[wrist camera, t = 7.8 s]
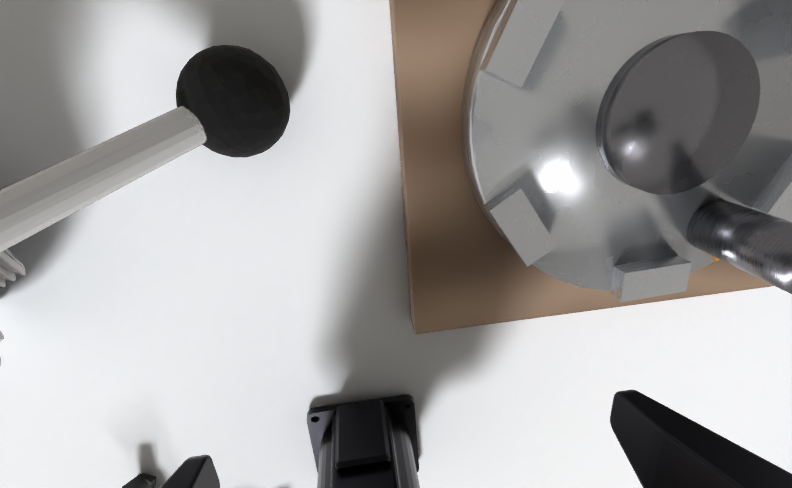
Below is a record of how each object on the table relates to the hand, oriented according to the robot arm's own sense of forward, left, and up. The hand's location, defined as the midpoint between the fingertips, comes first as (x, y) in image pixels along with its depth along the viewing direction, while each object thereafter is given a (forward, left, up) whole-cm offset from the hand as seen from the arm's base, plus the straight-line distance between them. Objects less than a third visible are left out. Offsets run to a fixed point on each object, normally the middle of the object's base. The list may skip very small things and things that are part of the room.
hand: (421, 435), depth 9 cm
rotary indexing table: (+5, -12, -11) cm, 17 cm away
